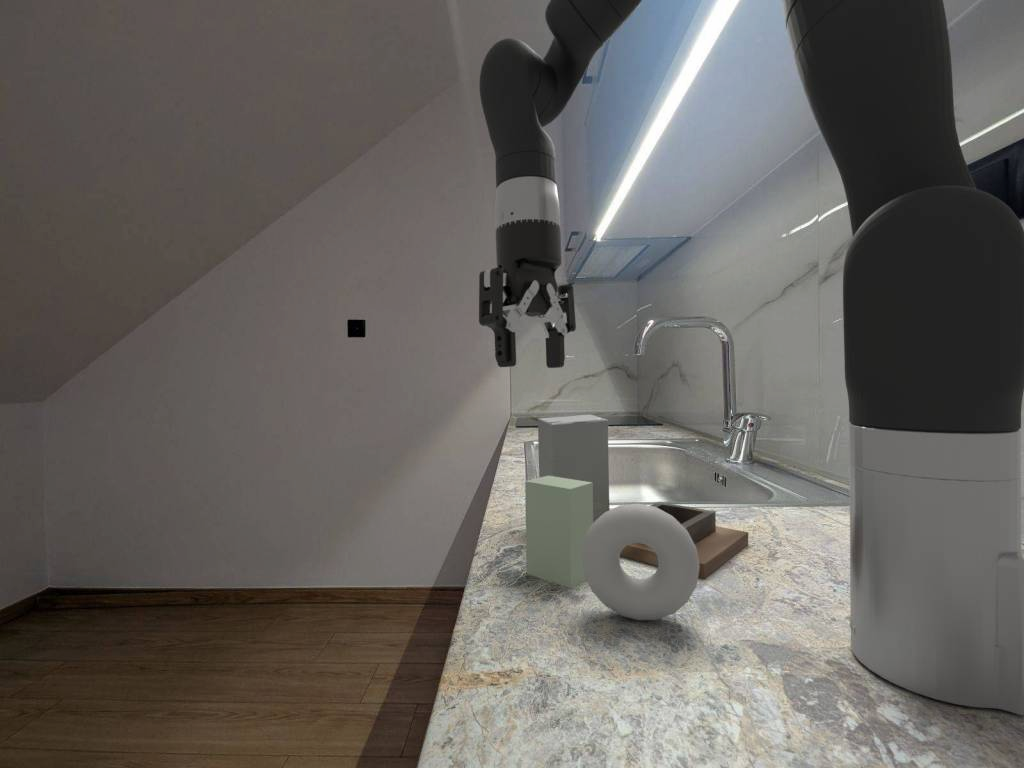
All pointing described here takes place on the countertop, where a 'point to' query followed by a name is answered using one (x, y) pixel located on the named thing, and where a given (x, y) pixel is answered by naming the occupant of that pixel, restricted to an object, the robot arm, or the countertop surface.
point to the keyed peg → (557, 528)
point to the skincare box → (577, 453)
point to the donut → (633, 594)
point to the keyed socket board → (696, 539)
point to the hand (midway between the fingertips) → (532, 367)
